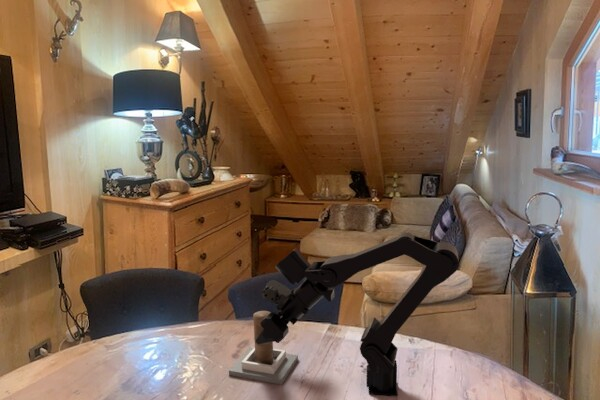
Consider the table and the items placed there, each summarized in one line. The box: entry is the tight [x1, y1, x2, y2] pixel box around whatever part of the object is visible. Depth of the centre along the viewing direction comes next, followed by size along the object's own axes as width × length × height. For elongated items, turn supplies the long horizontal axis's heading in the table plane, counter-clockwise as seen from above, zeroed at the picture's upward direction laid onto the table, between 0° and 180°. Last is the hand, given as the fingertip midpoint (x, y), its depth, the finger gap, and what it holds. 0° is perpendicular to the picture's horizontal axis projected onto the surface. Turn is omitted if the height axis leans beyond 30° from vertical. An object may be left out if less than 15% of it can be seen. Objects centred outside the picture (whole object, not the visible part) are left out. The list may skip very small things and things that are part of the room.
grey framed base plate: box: [228, 346, 299, 385], centre depth 114 cm, size 14×12×3 cm
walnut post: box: [252, 310, 274, 365], centre depth 113 cm, size 5×5×13 cm
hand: (264, 334), depth 113 cm, fingers open, 9 cm apart
